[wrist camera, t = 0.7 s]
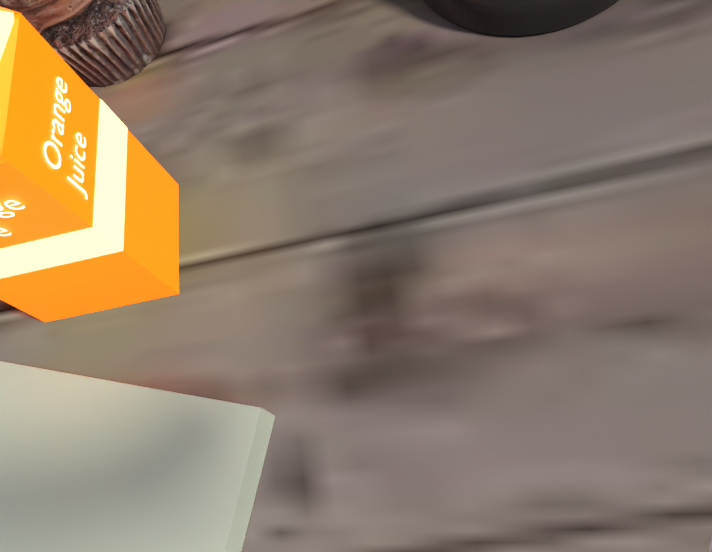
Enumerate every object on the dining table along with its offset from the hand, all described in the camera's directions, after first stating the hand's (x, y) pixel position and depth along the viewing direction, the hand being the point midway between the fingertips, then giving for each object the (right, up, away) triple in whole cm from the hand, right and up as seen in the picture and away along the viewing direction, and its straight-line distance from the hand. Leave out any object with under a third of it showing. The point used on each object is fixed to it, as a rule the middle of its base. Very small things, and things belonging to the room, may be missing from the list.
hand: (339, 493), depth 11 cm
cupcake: (-17, +20, +37) cm, 46 cm away
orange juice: (-14, +5, +30) cm, 34 cm away
